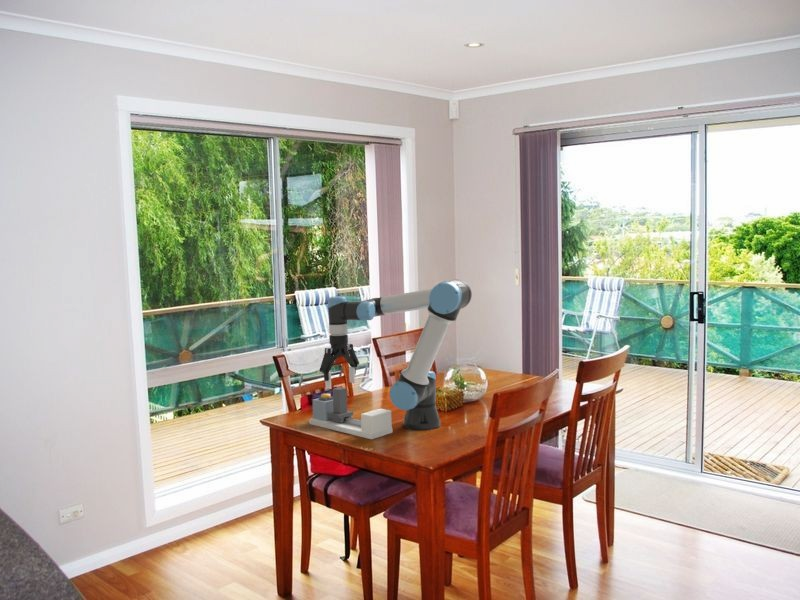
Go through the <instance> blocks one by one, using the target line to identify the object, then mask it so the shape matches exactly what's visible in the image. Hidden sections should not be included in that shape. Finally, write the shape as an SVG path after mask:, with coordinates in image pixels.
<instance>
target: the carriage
mask: <svg viewBox="0 0 800 600" xmlns="http://www.w3.org/2000/svg"><path fill="white" fill-rule="evenodd" d="M347 389H348V388H347V387H344V386H343V387H342V386H338V387H335V388H332V397H333V411H332V412H329V413H327V414H328V417H330V420H332V421H336V422H340V423H343V422H344V418H345V417H349V418H352V416H354V411H352V410H348V391H347Z"/></svg>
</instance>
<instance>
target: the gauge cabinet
mask: <svg viewBox="0 0 800 600" xmlns="http://www.w3.org/2000/svg"><path fill="white" fill-rule="evenodd" d="M332 411H333V400H329V401H322V400H319V397H318V398H315V399H314V398H313V399H312V418H314V419H318V420H322V421H329V420H330V417H328V414H327V413H329V412H332Z"/></svg>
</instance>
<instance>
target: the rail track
mask: <svg viewBox="0 0 800 600" xmlns="http://www.w3.org/2000/svg"><path fill="white" fill-rule="evenodd" d="M360 417H361V419H360V420H361V427H359V426H355V425H351V424H347V423H340V422H336V421H332V420H329V421H322V420H318V419H314V418H313V417H312V418H310V419H309V420H308V421H309V425H312V426H316V427H321V428H324V429H328V430H332V431H337V432H340V433H345V434H348V435H353V436H356V437H361V438H365V439H369V440H374V439H377V438H380V437H383V436H386V435H389V434H392V433H393V432H394V431H393V427H392V426H393V425H392V422H393V421H392V410H390V409H385V408H378V409H373V410H370V411H366V412H364V413H361V414H360Z"/></svg>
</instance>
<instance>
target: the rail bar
mask: <svg viewBox="0 0 800 600" xmlns="http://www.w3.org/2000/svg"><path fill="white" fill-rule="evenodd" d="M343 423H347V424H351V425H355V426H359V427H361V419H357V418H354V417H351V418H349V417H345V418H344V422H343Z"/></svg>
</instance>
